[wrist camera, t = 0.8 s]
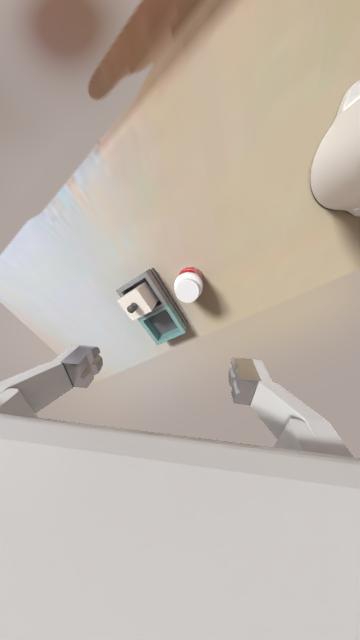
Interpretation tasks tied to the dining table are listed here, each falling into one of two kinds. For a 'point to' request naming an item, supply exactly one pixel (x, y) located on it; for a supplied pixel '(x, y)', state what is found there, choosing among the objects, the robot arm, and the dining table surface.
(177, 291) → the pill bottle
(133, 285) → the teal tray with block
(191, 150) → the dining table surface
